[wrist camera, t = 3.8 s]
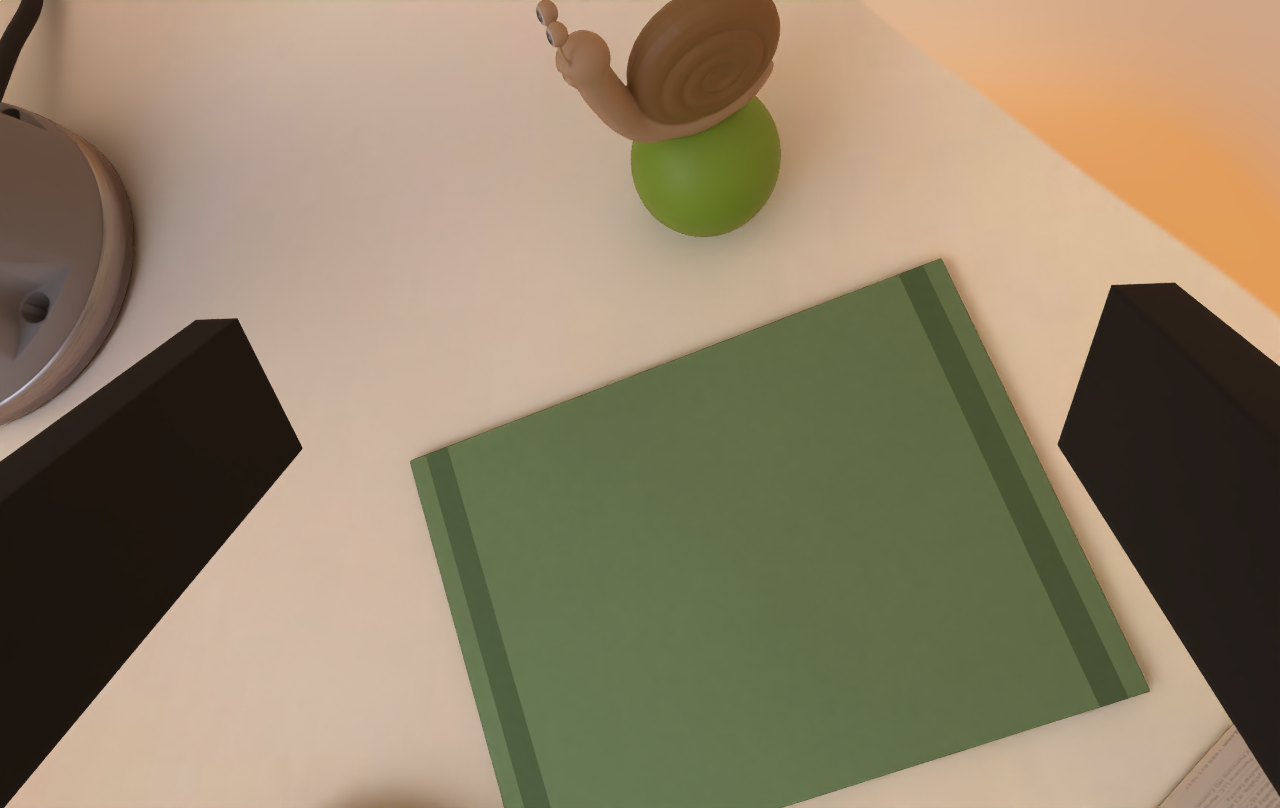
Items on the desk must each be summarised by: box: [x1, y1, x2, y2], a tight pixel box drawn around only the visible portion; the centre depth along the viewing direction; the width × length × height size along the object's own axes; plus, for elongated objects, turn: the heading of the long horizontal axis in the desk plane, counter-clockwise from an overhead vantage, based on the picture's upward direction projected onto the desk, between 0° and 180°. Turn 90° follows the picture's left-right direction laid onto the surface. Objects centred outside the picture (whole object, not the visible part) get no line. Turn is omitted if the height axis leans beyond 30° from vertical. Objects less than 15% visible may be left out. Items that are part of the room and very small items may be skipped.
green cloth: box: [410, 259, 1150, 808], centre depth 24 cm, size 16×22×1 cm
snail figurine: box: [536, 0, 781, 237], centre depth 21 cm, size 5×6×12 cm
